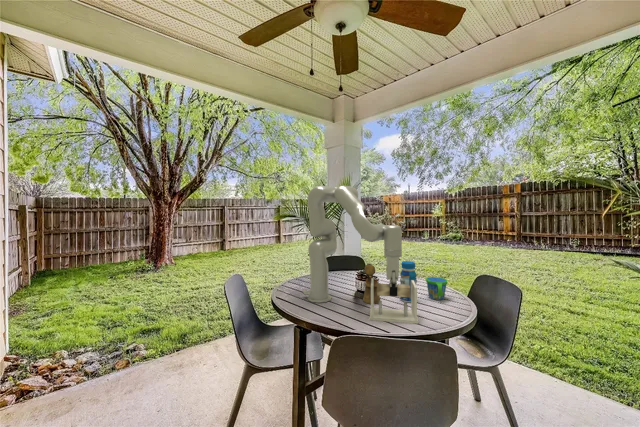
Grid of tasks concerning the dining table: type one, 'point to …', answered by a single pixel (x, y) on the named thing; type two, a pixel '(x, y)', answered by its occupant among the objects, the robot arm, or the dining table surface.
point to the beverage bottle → (407, 277)
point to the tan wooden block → (385, 290)
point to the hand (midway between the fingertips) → (393, 293)
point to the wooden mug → (370, 271)
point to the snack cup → (436, 287)
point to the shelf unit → (395, 314)
